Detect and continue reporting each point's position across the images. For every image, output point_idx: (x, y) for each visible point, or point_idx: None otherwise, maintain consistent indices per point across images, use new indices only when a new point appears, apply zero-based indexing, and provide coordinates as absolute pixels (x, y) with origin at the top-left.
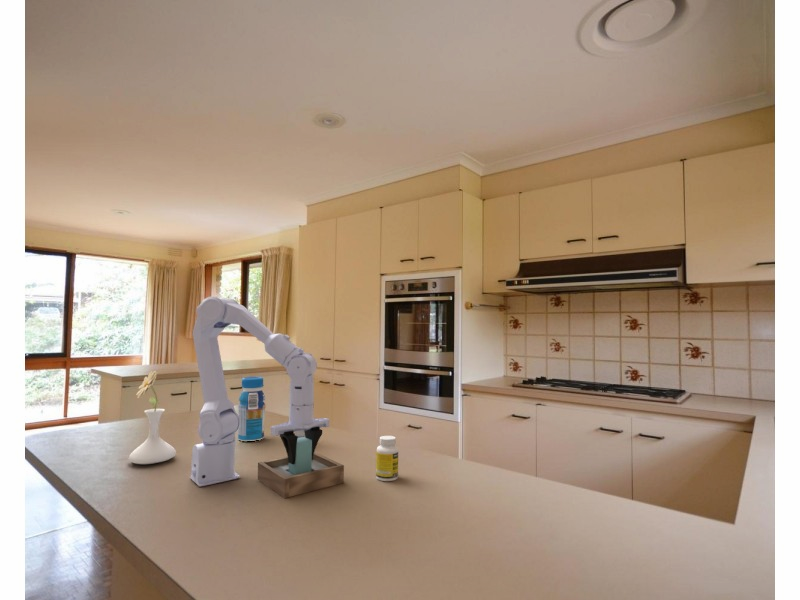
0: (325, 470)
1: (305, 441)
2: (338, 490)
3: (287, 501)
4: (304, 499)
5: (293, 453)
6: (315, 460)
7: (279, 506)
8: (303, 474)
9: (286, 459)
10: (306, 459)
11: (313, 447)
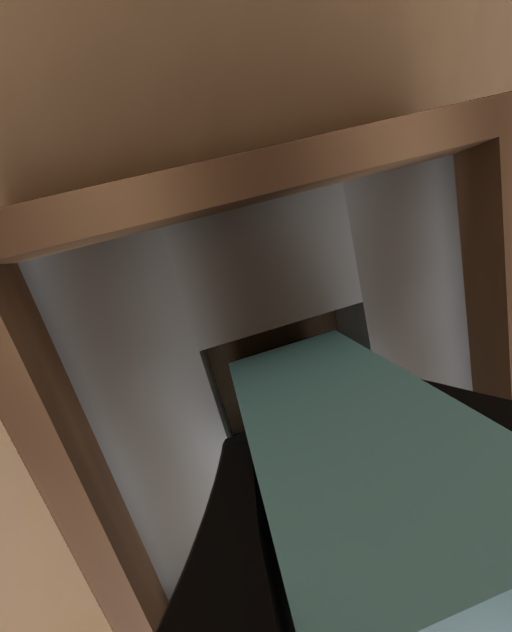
0: (148, 174)
1: (473, 604)
2: (87, 103)
3: (420, 84)
4: (332, 60)
5: (504, 405)
6: (154, 572)
7: (473, 30)
8: (373, 131)
9: None
10: (300, 400)
11: (234, 530)
